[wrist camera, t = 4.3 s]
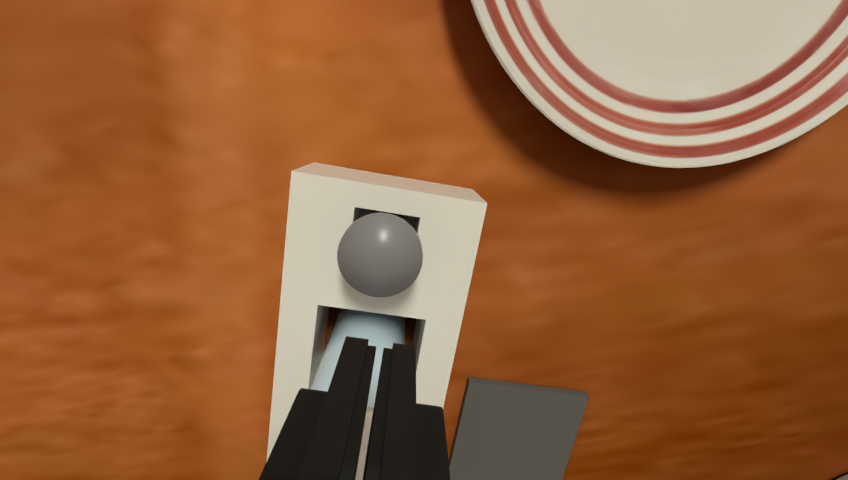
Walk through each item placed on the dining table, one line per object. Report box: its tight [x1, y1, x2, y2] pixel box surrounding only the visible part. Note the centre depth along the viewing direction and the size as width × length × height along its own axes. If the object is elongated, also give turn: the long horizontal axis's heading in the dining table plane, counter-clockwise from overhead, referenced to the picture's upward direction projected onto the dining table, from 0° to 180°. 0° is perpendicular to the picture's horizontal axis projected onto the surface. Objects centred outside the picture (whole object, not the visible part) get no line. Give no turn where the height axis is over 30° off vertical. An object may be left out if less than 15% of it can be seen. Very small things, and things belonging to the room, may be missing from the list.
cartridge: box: [311, 308, 406, 480], centre depth 22 cm, size 5×5×13 cm
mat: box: [449, 377, 589, 480], centre depth 31 cm, size 9×9×1 cm
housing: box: [267, 162, 487, 460], centre depth 25 cm, size 20×10×5 cm, turn 170°
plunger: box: [337, 210, 423, 297], centre depth 22 cm, size 4×4×6 cm
